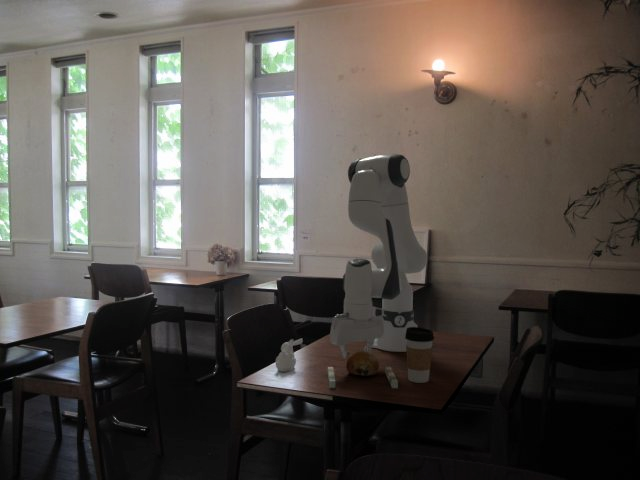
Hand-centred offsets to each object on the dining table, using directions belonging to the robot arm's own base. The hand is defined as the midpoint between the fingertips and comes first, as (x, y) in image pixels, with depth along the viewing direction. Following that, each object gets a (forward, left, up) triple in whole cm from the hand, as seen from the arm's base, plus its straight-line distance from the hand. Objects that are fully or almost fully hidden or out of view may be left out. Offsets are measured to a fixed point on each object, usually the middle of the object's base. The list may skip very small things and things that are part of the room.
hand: (356, 355), depth 180 cm
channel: (+12, 0, -4) cm, 13 cm away
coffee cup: (+11, +17, -5) cm, 21 cm away
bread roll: (+7, 0, -5) cm, 9 cm away
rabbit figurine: (0, -21, -5) cm, 22 cm away
